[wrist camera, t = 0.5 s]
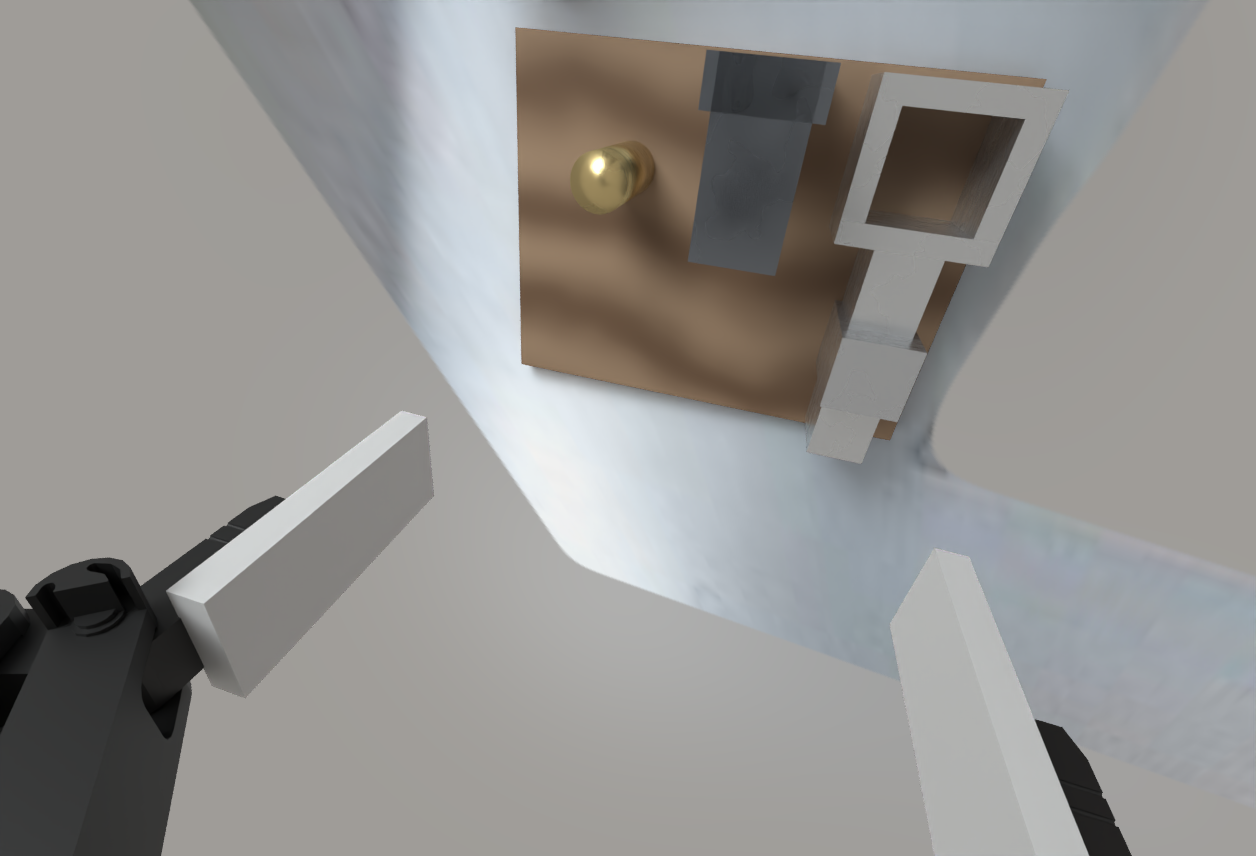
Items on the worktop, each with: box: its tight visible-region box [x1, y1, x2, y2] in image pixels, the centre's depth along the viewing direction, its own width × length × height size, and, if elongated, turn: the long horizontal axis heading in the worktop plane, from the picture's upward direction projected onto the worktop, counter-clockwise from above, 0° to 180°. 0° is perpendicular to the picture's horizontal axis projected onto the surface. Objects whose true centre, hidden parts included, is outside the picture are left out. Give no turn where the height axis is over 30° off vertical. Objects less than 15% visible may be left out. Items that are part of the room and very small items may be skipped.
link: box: [805, 72, 1069, 464], centre depth 28 cm, size 19×7×6 cm, turn 174°
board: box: [515, 27, 1047, 440], centre depth 33 cm, size 20×26×1 cm
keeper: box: [688, 50, 841, 276], centre depth 26 cm, size 8×5×9 cm, turn 174°
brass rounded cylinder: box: [570, 141, 655, 215], centre depth 29 cm, size 3×3×8 cm
